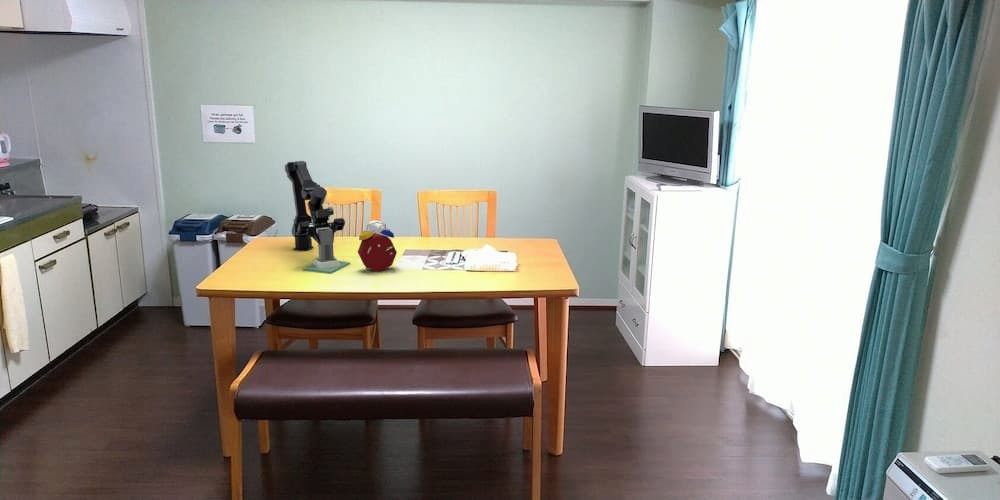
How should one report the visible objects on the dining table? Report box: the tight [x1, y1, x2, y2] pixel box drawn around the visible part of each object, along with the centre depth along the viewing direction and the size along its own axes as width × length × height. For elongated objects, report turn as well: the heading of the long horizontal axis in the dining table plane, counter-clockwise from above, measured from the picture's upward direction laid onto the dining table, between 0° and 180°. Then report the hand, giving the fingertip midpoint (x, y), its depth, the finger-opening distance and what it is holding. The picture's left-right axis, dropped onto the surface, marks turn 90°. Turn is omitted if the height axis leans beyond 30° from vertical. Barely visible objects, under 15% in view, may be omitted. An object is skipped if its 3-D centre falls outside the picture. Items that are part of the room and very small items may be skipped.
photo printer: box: [368, 220, 387, 236], centre depth 328 cm, size 10×4×12 cm, turn 39°
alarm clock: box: [357, 222, 398, 273], centre depth 291 cm, size 15×9×20 cm, turn 111°
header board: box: [302, 256, 351, 274], centre depth 297 cm, size 13×15×3 cm
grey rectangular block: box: [316, 228, 335, 260], centre depth 295 cm, size 5×5×12 cm
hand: (326, 243), depth 294 cm, fingers closed on grey rectangular block, 5 cm apart
